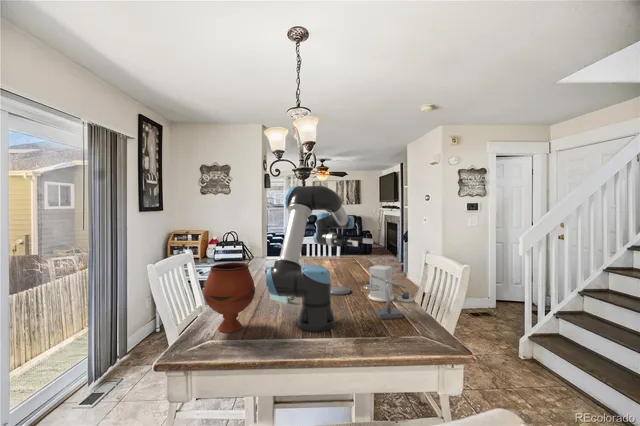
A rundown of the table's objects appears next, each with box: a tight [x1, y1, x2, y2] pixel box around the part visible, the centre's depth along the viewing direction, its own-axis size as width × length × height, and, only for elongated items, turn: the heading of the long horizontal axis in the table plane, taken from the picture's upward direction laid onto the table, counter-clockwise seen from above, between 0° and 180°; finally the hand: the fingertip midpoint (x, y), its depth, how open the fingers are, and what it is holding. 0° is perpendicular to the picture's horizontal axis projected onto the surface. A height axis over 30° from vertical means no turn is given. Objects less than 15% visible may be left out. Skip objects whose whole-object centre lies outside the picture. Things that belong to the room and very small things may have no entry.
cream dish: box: [367, 293, 395, 303], centre depth 157 cm, size 13×13×1 cm
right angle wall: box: [269, 293, 294, 304], centre depth 159 cm, size 12×12×8 cm
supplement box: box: [369, 264, 393, 299], centre depth 157 cm, size 9×9×15 cm
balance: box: [363, 274, 415, 320], centre depth 133 cm, size 22×7×18 cm, turn 96°
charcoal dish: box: [331, 285, 351, 296], centre depth 169 cm, size 13×13×1 cm
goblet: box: [203, 262, 256, 334], centre depth 120 cm, size 19×19×25 cm
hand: (365, 242), depth 163 cm, fingers open, 13 cm apart
